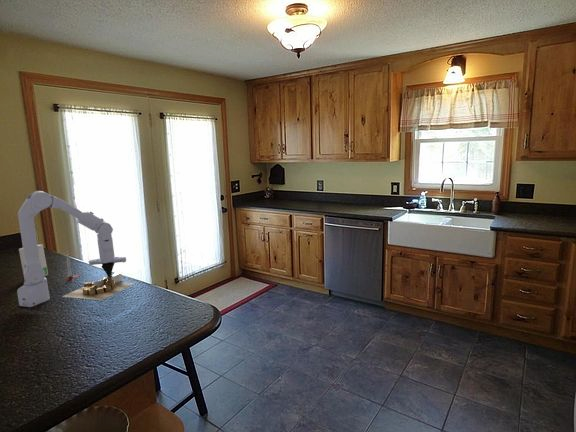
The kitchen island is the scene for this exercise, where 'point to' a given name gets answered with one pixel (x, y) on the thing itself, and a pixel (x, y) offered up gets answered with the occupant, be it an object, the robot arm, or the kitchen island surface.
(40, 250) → the skincare box
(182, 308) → the kitchen island surface
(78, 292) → the spindle board
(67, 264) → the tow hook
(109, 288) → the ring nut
